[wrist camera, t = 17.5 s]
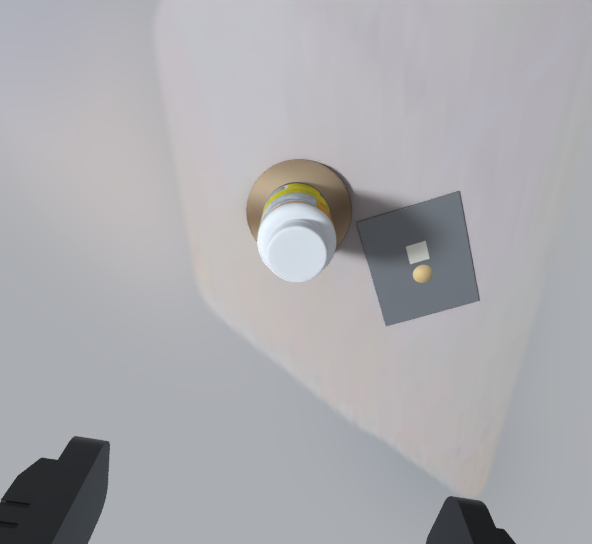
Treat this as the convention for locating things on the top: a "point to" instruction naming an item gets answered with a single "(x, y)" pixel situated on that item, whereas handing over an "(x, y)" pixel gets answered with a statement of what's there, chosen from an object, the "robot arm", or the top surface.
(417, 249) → the gray board
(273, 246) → the supplement bottle
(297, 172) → the cork coaster
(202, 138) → the top surface
